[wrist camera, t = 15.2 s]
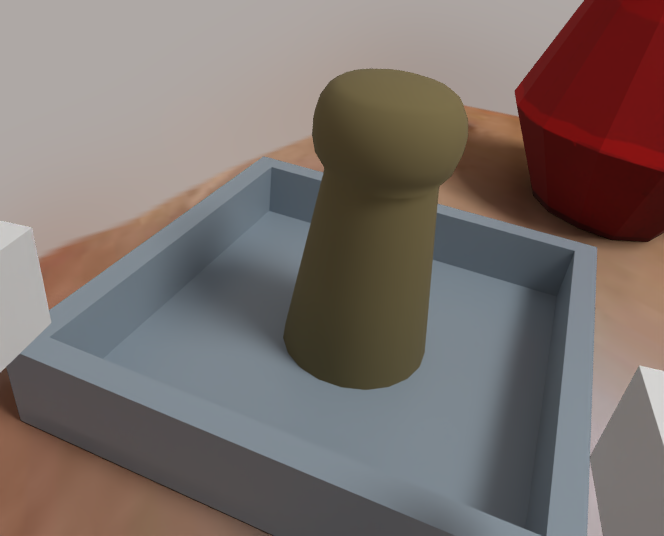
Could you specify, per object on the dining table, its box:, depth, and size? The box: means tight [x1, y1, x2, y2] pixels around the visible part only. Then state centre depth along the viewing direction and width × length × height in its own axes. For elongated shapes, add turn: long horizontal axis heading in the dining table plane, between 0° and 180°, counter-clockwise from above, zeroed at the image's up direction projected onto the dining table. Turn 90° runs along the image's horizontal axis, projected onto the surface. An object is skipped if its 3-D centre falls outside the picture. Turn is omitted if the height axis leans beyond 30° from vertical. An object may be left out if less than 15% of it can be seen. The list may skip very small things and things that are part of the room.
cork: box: [283, 69, 468, 390], centre depth 22 cm, size 6×6×11 cm
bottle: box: [515, 0, 664, 242], centre depth 35 cm, size 16×14×20 cm
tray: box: [6, 157, 597, 536], centre depth 24 cm, size 18×18×4 cm
